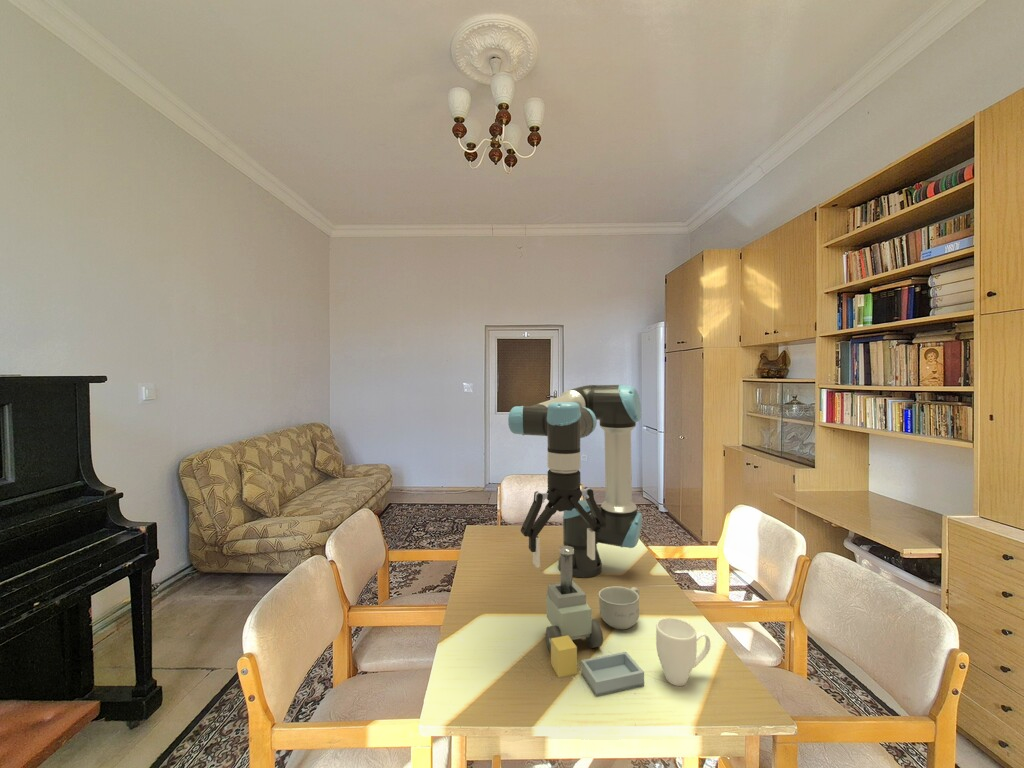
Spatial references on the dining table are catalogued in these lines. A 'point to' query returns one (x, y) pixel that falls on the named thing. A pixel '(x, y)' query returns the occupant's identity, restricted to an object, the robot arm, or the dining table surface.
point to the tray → (612, 673)
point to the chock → (563, 656)
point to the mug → (678, 649)
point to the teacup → (619, 606)
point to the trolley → (571, 616)
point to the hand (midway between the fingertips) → (564, 561)
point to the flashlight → (566, 569)
